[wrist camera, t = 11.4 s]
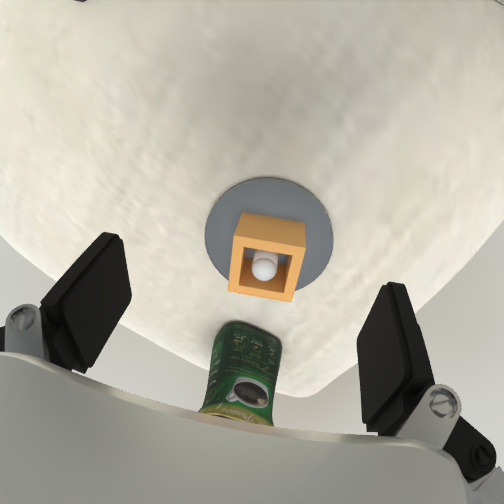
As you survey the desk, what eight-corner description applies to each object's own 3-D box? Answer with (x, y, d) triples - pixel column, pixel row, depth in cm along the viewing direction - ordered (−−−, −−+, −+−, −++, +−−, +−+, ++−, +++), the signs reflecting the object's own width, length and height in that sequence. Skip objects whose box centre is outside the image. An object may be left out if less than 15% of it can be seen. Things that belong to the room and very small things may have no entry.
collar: (304, 222, 32) (305, 248, 28) (292, 273, 35) (291, 302, 31) (242, 211, 32) (233, 235, 28) (235, 263, 36) (227, 291, 31)
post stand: (346, 192, 31) (358, 223, 25) (314, 295, 38) (316, 337, 32) (212, 167, 31) (192, 192, 25) (204, 275, 39) (189, 314, 33)
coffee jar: (208, 343, 46) (177, 452, 30) (230, 313, 42) (198, 436, 26) (264, 367, 48) (249, 474, 32) (291, 340, 43) (282, 461, 28)
